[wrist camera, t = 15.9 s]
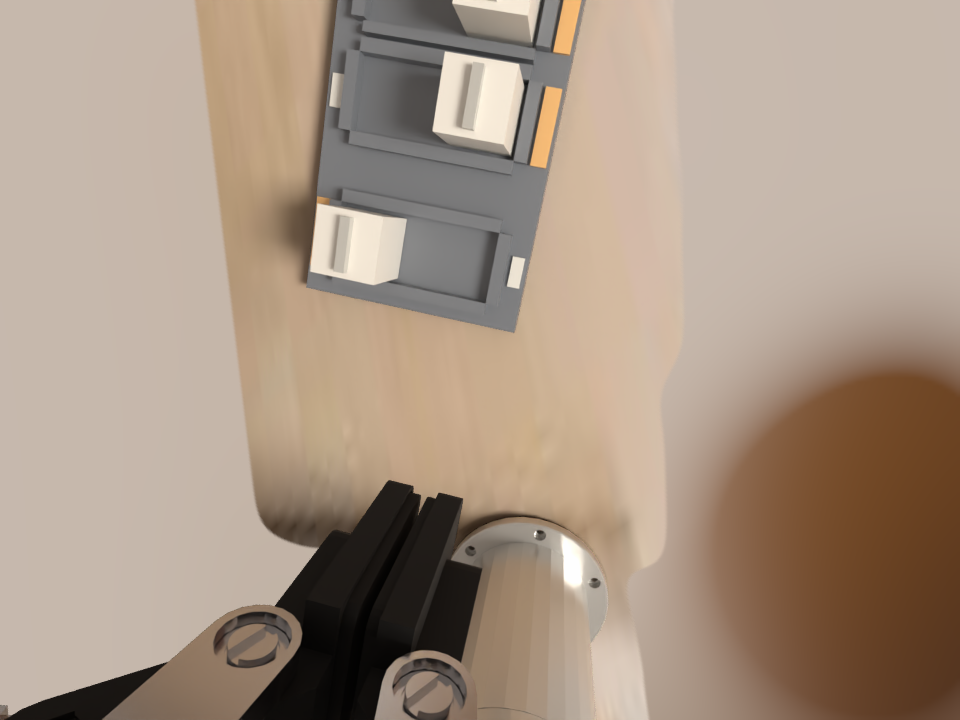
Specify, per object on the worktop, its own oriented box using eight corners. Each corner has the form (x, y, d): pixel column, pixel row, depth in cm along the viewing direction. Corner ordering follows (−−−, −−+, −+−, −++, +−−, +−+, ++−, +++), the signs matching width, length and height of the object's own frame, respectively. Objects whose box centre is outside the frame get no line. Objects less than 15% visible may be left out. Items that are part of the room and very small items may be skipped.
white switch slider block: (397, 278, 37) (370, 286, 31) (342, 266, 37) (305, 272, 32) (406, 218, 36) (379, 216, 30) (349, 207, 36) (312, 203, 31)
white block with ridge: (511, 157, 34) (502, 142, 28) (450, 145, 34) (429, 129, 29) (524, 88, 33) (517, 60, 27) (461, 77, 33) (442, 47, 28)
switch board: (515, 329, 38) (506, 350, 31) (314, 285, 39) (264, 296, 32) (591, -25, 32) (599, -91, 25) (352, -62, 33) (302, -133, 27)
